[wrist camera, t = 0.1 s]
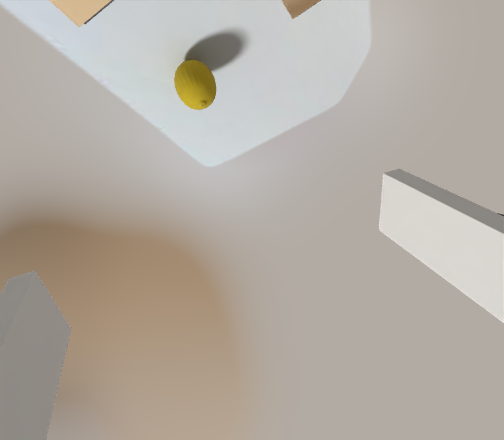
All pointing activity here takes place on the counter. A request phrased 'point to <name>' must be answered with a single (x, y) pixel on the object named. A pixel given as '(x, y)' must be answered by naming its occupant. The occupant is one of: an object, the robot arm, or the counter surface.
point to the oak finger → (298, 6)
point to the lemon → (195, 84)
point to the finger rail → (81, 9)
